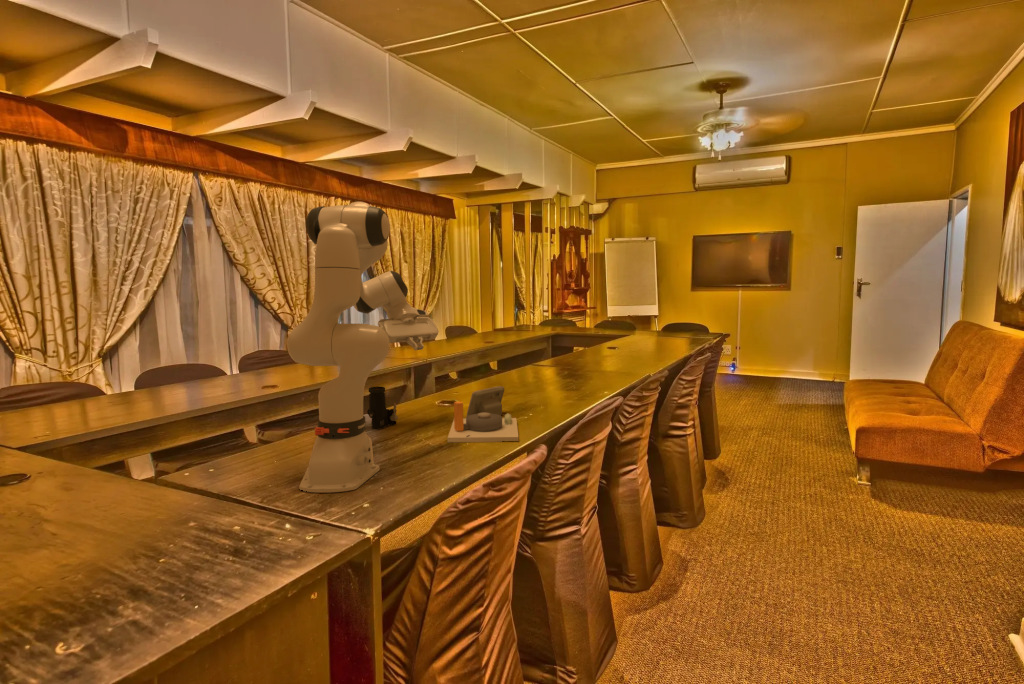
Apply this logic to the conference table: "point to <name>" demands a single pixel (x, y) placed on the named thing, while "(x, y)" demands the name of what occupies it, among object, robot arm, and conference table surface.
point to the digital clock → (486, 401)
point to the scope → (380, 409)
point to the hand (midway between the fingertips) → (419, 348)
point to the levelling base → (487, 433)
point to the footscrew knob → (475, 420)
